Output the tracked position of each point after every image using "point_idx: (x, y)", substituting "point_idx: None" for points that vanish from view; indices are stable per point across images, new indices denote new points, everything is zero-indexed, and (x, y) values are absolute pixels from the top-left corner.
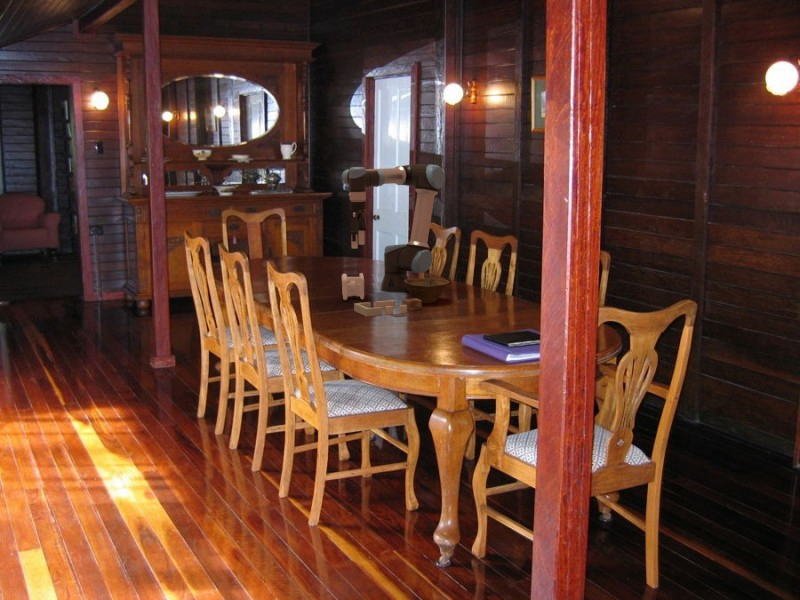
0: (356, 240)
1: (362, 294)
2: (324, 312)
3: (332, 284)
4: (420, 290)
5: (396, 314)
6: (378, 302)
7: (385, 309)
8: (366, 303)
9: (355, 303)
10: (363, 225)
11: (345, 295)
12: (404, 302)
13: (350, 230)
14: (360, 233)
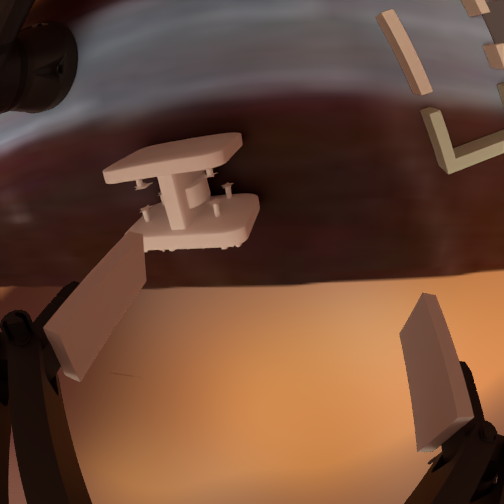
0: (453, 361)
1: (240, 140)
2: (441, 256)
3: (36, 248)
4: None
5: (495, 33)
6: (426, 77)
7: (501, 68)
8: (445, 126)
9: (449, 169)
10: (30, 407)
11: (257, 204)
12: None
13: (491, 486)
14: (88, 344)
